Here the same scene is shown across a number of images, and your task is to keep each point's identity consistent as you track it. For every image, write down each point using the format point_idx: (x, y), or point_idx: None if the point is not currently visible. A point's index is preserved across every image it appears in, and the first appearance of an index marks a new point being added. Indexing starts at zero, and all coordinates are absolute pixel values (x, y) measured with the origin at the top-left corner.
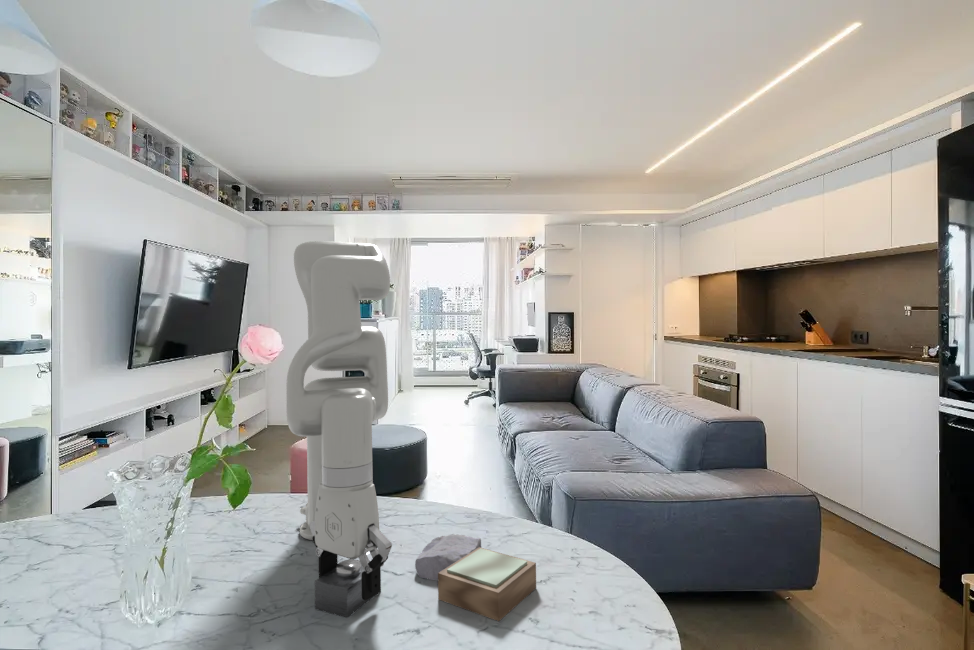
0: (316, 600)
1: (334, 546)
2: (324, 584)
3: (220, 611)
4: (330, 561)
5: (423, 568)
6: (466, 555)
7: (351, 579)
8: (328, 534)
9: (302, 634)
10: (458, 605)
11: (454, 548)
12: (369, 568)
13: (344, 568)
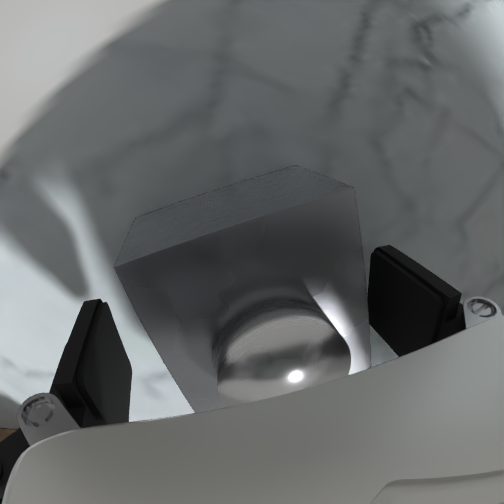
0: (303, 173)
1: (346, 440)
2: (280, 206)
3: (479, 17)
4: (411, 329)
5: None
6: None
7: (194, 333)
8: (501, 474)
9: (172, 40)
10: (12, 431)
11: None
12: (20, 417)
13: (268, 351)
